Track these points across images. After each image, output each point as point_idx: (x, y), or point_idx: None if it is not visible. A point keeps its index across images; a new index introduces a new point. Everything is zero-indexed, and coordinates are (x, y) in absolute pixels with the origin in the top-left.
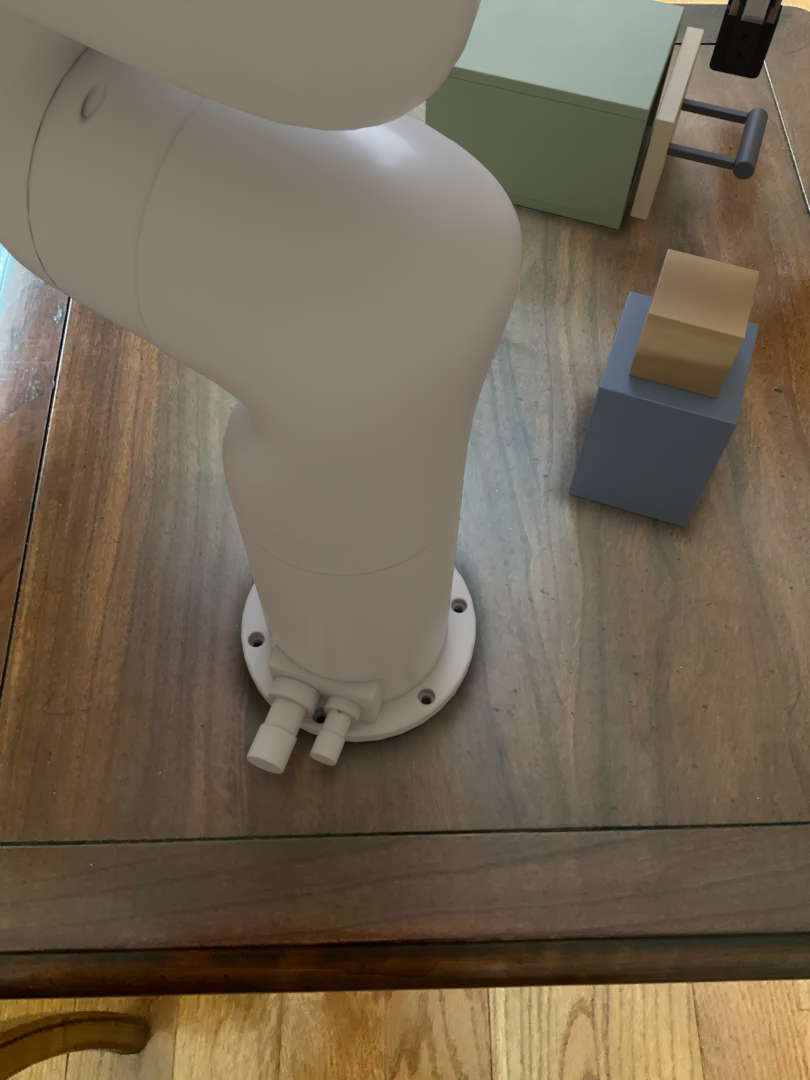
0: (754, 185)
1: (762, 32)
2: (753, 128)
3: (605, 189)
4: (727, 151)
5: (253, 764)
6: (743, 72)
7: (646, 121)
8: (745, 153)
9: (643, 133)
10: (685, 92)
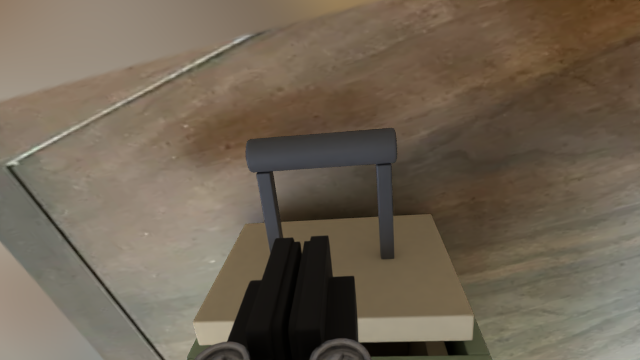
0: (283, 98)
1: (325, 321)
2: (305, 160)
3: None
4: (235, 149)
5: None
6: (330, 263)
7: (486, 352)
8: (372, 157)
9: (474, 332)
10: None
